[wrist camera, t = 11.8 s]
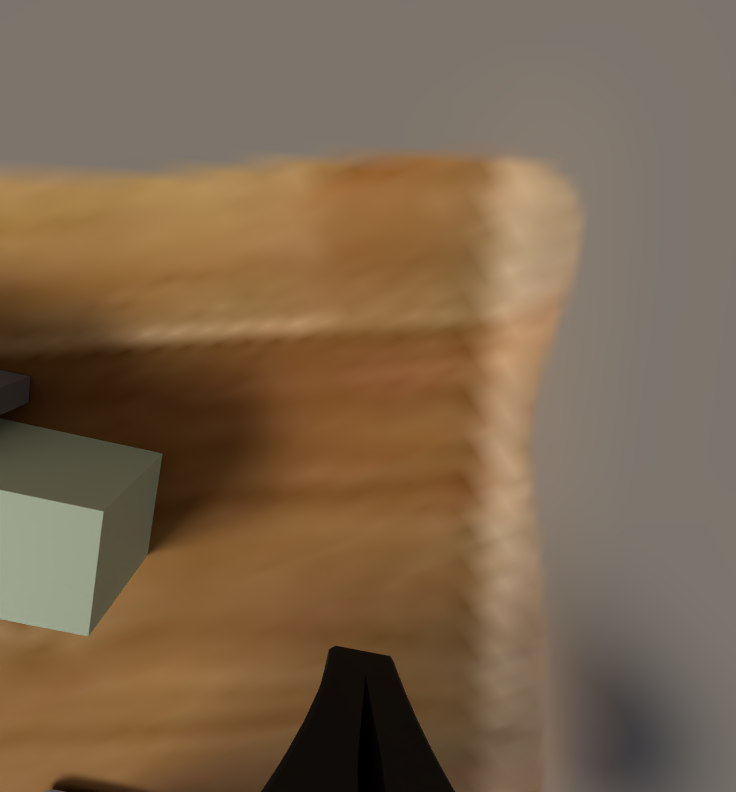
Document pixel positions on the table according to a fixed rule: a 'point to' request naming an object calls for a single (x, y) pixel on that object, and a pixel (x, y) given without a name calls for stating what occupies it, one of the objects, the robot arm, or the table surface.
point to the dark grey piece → (13, 390)
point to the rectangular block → (70, 524)
